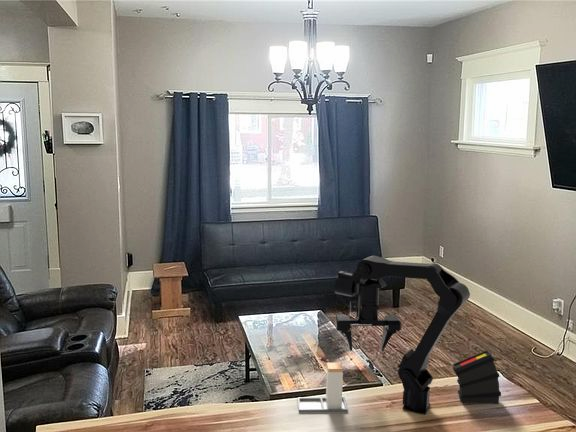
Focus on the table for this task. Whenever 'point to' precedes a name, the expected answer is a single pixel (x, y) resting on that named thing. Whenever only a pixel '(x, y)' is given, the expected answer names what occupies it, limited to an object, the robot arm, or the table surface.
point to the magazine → (478, 379)
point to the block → (334, 386)
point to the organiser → (317, 405)
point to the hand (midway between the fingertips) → (366, 350)
